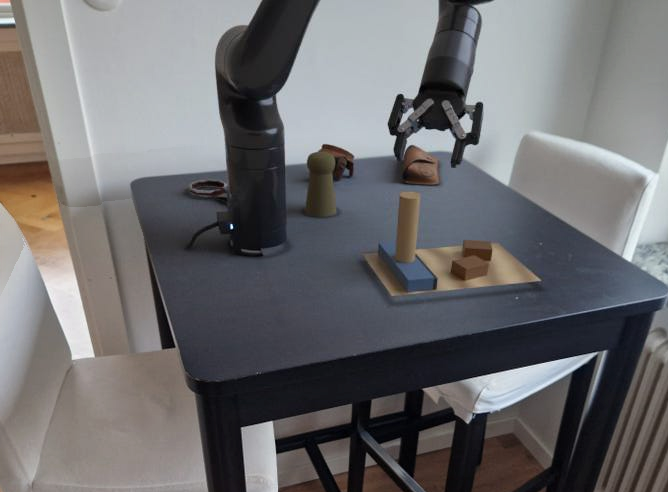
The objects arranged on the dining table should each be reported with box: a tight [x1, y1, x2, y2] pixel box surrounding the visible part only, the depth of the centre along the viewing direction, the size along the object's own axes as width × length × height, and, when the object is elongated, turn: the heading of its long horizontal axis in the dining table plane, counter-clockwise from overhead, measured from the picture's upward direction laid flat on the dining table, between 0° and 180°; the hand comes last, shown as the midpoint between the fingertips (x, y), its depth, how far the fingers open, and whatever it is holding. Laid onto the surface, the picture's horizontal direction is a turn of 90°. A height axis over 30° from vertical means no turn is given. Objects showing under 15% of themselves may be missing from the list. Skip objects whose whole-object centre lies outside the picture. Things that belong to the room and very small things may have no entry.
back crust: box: [462, 239, 493, 261], centre depth 109 cm, size 4×3×2 cm
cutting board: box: [361, 242, 542, 297], centre depth 106 cm, size 24×15×2 cm, turn 106°
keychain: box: [188, 179, 228, 204], centre depth 132 cm, size 8×19×2 cm, turn 55°
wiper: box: [377, 191, 438, 292], centre depth 101 cm, size 5×14×12 cm, turn 16°
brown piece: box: [308, 143, 355, 183], centre depth 143 cm, size 12×10×8 cm
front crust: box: [451, 255, 489, 281], centre depth 103 cm, size 4×3×2 cm
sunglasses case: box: [401, 144, 440, 186], centre depth 151 cm, size 18×7×7 cm
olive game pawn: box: [304, 151, 337, 218], centre depth 126 cm, size 6×6×11 cm
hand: (425, 161), depth 104 cm, fingers open, 8 cm apart
